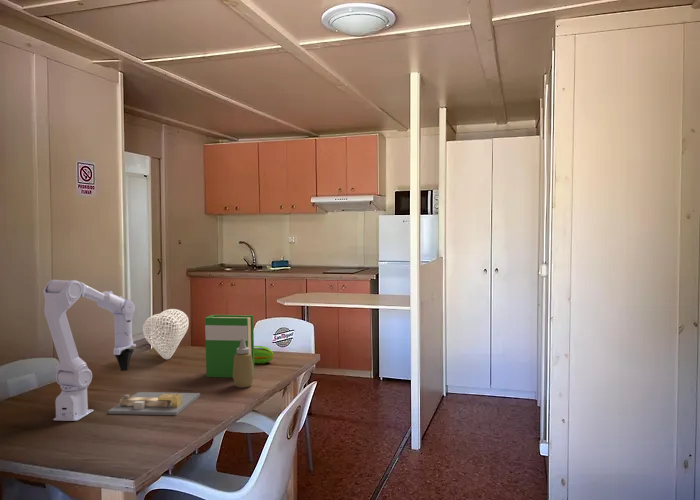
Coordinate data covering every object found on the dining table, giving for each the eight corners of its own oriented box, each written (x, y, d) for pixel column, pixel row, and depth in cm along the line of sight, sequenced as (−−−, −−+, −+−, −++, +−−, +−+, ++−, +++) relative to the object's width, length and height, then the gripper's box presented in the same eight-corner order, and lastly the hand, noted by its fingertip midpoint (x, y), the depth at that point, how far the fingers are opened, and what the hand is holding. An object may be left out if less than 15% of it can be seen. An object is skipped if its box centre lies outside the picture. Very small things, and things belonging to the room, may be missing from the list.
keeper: (177, 407, 175) (176, 397, 175) (158, 407, 176) (157, 397, 176) (182, 403, 179) (181, 394, 179) (163, 403, 180) (163, 393, 180)
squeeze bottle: (233, 389, 198) (232, 341, 197) (232, 383, 206) (231, 337, 205) (255, 387, 200) (254, 340, 199) (253, 382, 208) (252, 336, 207)
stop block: (142, 409, 175) (142, 403, 175) (133, 408, 175) (133, 402, 175) (145, 407, 177) (145, 401, 177) (136, 406, 177) (136, 400, 177)
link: (118, 405, 178) (118, 396, 178) (124, 402, 181) (124, 393, 181) (166, 407, 176) (166, 398, 176) (171, 403, 179) (171, 394, 179)
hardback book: (254, 373, 221) (253, 315, 220) (248, 378, 214) (247, 318, 213) (213, 371, 224) (212, 314, 223) (206, 376, 217) (205, 317, 216)
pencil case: (269, 348, 233) (228, 345, 239) (269, 365, 233) (228, 363, 238) (276, 345, 240) (236, 343, 246) (276, 362, 240) (236, 360, 246)
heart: (173, 366, 233) (172, 316, 232) (138, 367, 233) (136, 316, 233) (193, 352, 261) (192, 306, 260) (162, 352, 261) (160, 307, 261)
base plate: (176, 415, 171) (176, 412, 171) (108, 413, 174) (108, 410, 174) (200, 395, 191) (200, 393, 191) (138, 394, 193) (138, 392, 193)
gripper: (128, 336, 184) (129, 375, 185) (141, 328, 199) (142, 364, 199) (106, 336, 184) (108, 376, 184) (121, 329, 198) (122, 365, 199)
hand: (124, 370), depth 192 cm, fingers closed
